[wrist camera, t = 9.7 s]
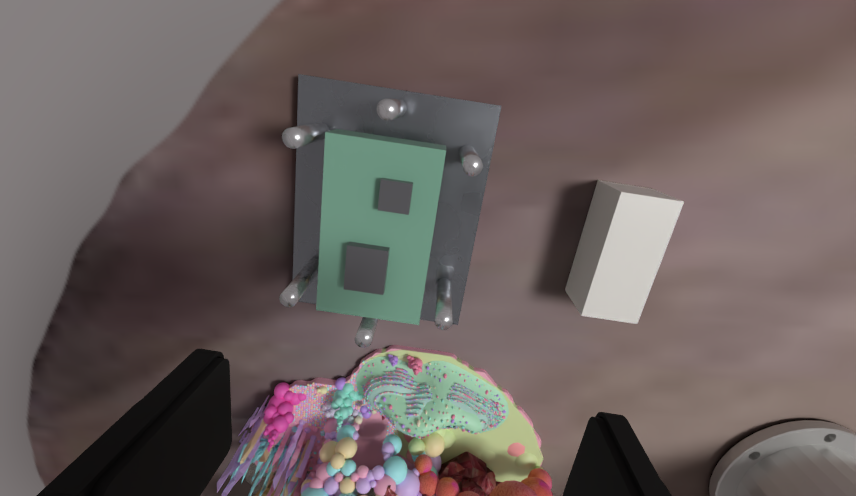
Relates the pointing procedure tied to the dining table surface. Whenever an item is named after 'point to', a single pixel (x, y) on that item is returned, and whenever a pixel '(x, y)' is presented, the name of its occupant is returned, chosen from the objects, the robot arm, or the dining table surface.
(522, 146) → the dining table surface
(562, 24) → the dining table surface
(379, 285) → the board
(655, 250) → the white rectangular block
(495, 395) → the pastel sphere sculpture
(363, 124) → the chassis
